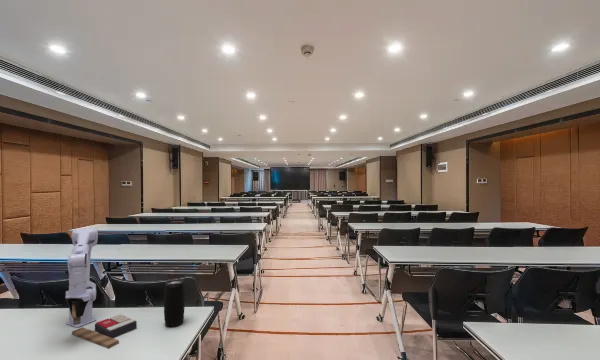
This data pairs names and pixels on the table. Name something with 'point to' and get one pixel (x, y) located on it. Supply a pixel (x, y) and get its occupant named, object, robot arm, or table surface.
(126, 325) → the calculator
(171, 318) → the portable speaker
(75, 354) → the table surface
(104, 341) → the board
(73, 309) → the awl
